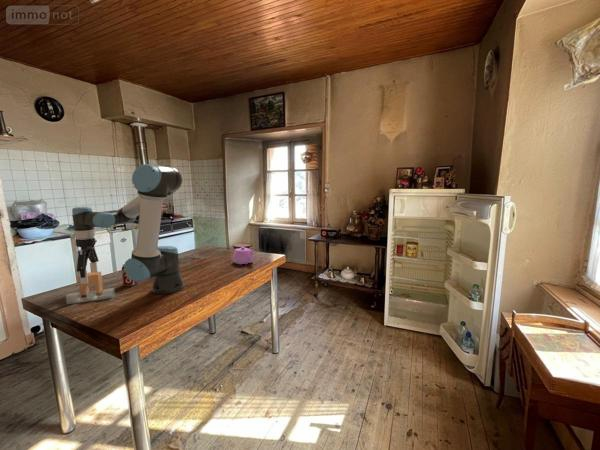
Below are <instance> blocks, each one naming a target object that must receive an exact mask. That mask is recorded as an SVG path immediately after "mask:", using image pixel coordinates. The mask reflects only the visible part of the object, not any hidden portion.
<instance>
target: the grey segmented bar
mask: <svg viewBox="0 0 600 450" xmlns="http://www.w3.org/2000/svg"><path fill="white" fill-rule="evenodd" d="M82 296H83V295H82ZM82 296H81V292H80V291H79V292H71V293H68V294H66V296H65V300H66V305H70V304H71V305H72V304H77V303H78V304H79V303H87V302H94V301H100V300H108V299H114V298H115V297H116V288H115V287H112V288H111V287H110V288H103V290H102V291H101V295H97V293H96V290H95V289H94V290H89V292H88V293H87V294H86V295H85V296H84V297H82Z"/></svg>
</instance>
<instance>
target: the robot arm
mask: <svg viewBox="0 0 600 450" xmlns="http://www.w3.org/2000/svg"><path fill="white" fill-rule="evenodd" d="M131 181H132V182H131V183H132V185H133V187H134V188H135V189H136V190H137V196H136V197H135V198H133V199H132V200H131V201H129V202H128V203H126V204H125V205H124V206H122V207H121V208H120V209H115V210H106V211H93V208H92V207H90V206H78V207H76V206H75V207H73V208H72V210H71V211H72V212H71V213H72V214H71V217H72V222H73V223H72V224H73V229H74V230H73V234H74V238H75V241H74V242H75V246H76V247H77V248H80V250H77V262H76V263H77V264H76V272H79V273H78V274H79V275H80V282H81V284H86V283H88V276H87V273H88V270H87V264H88V260H89V262H90V263H89V269H90V273H91V272H99V271H98V263H97V262H99V257H98V255H97V254H98V253H97V252H96V248H95V246H96V238H95V236H96V233H95V228H100V229H107V228H108V229H109V228H111V227H112V226H119V225H125V224H131V223H134V222H135V221H136V219H137V216H138V215H139V216H138V217H139V218H138V225H137V226H138V227H137V238H136V244H135V245H136V247H135V248H134V249H132V251H131V258H128V259H127V260H126V261H125V262H124V263H123V264H124V269H125V272H126V274H127V275H128V277H129V278H130V279H132V280H133V281H136V282H138V283H140V282H144V281H147V280H149V279H151V278H153V277H154V278H153V279H154V280H153V282H152V286H151V292H152V294H157V295H166V294H173V293H176V292H178V291H181V290H182V289H184V287H185V285H184V283H185V282H184V280H183V278H182V276H181V273H180V263H179V262H180V261H179V252H178V251H179V250H178V248H177V247H176V246H174V245H173V246H172V245H171V246H170V245H160V246H159V237H160V230H161V223H162V221H161V220H162V213H163V205H164V200H165V199H167V198H168V196H171V195H172V194H174V193H175V192H177V191H178V190H179V189H180V188H181V186H182V184H183V176H182V174H181V172H180V171H179V170H178V169H176V168H175V167H173V166H169V165H168V166H167V165H159V164H152V163H148V164H145V163H144V164H141V165H139V166H138V167H137V168H135V169H134V170H133V173H132V177H131Z"/></svg>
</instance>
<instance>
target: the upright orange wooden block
mask: <svg viewBox="0 0 600 450" xmlns="http://www.w3.org/2000/svg"><path fill="white" fill-rule="evenodd" d="M87 276H88V283H86V284H81V282H80V274H79V275H78V276H77V278H78V286H79V292H81V296H86V294H87V293H88V292H89V291H90V289H89V286H92V285H93V286H94V290H96V293H97V294H100V293H102V291H103V290H104V288H103V278H102V277H103V276H102V271H98V272H91V271H90V272H87Z"/></svg>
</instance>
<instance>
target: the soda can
mask: <svg viewBox="0 0 600 450" xmlns="http://www.w3.org/2000/svg"><path fill="white" fill-rule="evenodd" d="M124 264H125V263H122V267H121V276H122V285H123V286H124V287H132V286H135V285H137V284H138V283H139V282H136V281H133V280H132V279H130V278H129V277H128V275H127V274H126V272H125V269H124Z"/></svg>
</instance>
